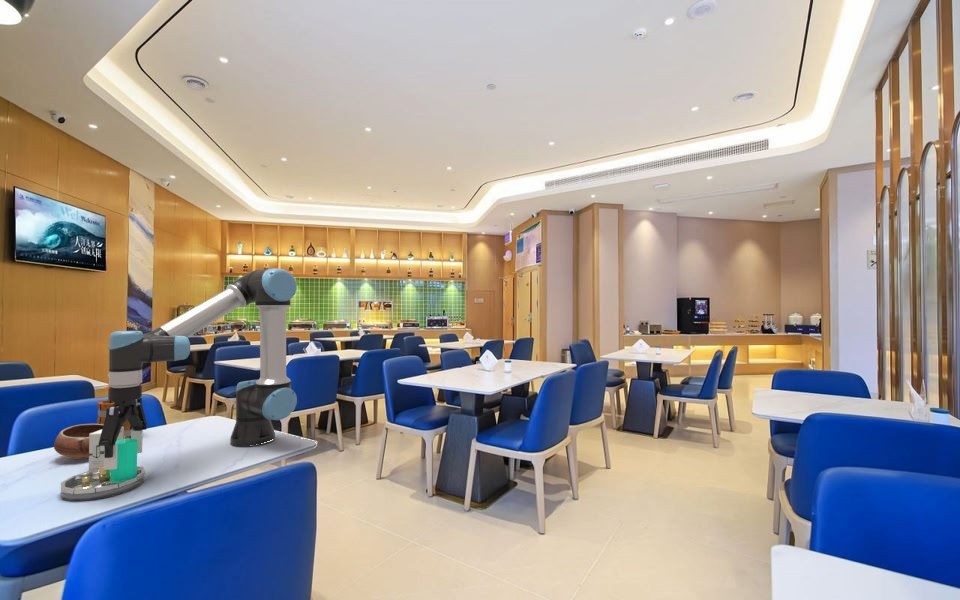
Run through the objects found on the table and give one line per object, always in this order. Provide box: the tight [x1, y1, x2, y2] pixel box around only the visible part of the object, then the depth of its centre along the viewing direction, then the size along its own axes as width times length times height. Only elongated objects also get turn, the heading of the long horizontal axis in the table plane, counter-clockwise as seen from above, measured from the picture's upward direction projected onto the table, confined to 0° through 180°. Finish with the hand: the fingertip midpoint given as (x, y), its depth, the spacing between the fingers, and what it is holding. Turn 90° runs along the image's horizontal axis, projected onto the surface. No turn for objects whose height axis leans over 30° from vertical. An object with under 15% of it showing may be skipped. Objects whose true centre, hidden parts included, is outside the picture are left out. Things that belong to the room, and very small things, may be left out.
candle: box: [111, 436, 138, 481], centre depth 128 cm, size 6×6×12 cm
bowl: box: [53, 423, 103, 460], centre depth 153 cm, size 16×16×10 cm
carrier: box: [60, 465, 146, 502], centre depth 127 cm, size 18×18×6 cm
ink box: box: [88, 427, 124, 471], centre depth 144 cm, size 9×5×12 cm, turn 5°
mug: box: [96, 398, 135, 439], centre depth 174 cm, size 20×14×15 cm
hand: (124, 460), depth 128 cm, fingers open, 13 cm apart
